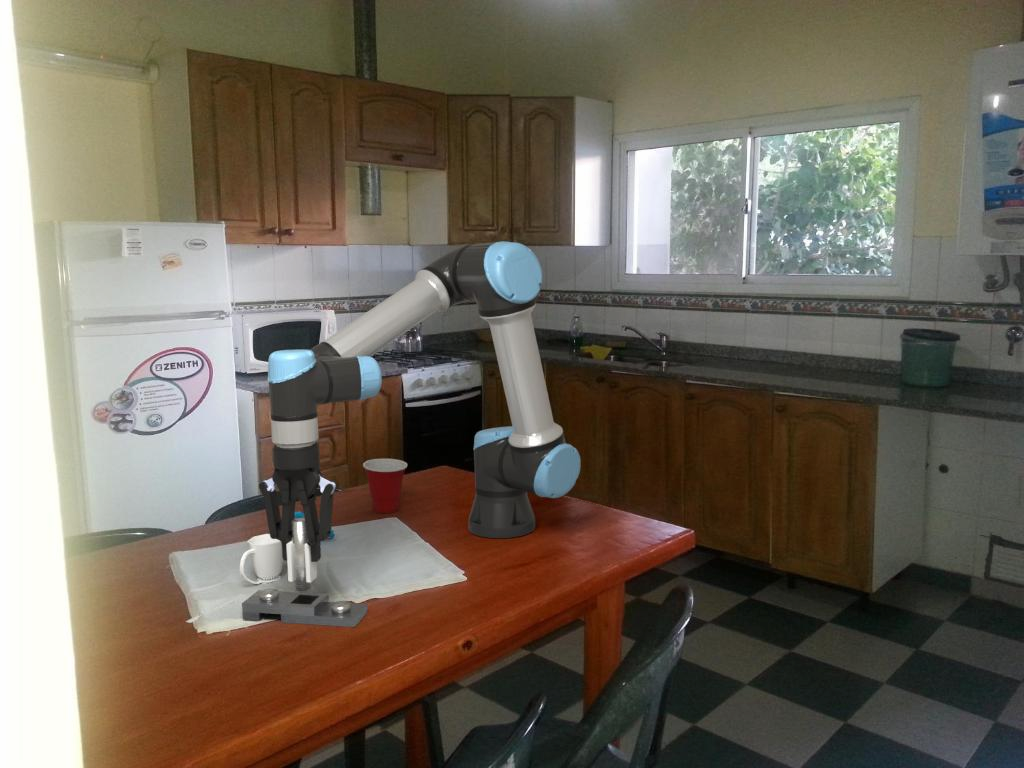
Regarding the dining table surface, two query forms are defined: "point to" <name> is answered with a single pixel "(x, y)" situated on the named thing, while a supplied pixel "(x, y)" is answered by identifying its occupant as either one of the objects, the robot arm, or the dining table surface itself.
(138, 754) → the dining table surface
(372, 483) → the plastic cup
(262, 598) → the grey bolted bracket
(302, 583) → the metal pin
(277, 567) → the cup
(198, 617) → the butter knife
